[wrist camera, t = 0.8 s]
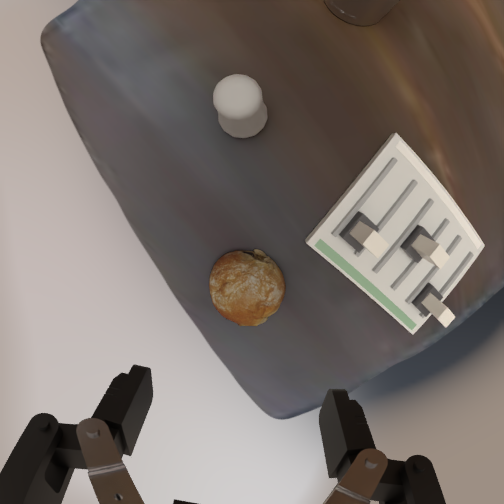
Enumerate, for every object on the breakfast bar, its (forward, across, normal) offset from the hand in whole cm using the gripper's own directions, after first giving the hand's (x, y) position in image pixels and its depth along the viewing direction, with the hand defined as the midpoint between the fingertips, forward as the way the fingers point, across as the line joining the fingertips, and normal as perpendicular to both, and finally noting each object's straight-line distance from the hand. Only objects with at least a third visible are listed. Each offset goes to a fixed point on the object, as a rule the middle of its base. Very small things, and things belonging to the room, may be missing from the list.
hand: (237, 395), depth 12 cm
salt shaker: (+29, +3, -15) cm, 32 cm away
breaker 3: (+27, -27, +5) cm, 38 cm away
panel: (+28, -22, -2) cm, 36 cm away
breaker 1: (+27, -13, -3) cm, 30 cm away
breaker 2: (+27, -22, -3) cm, 35 cm away
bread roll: (+29, 0, +7) cm, 29 cm away
